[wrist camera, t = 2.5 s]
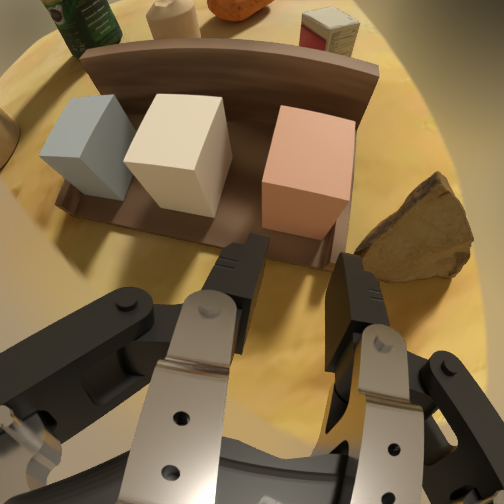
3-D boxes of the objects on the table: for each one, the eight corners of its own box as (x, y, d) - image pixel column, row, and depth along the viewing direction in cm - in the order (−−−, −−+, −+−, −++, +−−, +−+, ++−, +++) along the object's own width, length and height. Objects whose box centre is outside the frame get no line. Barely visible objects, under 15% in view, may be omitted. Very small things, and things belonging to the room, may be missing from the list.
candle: (213, 54, 30) (202, -8, 21) (181, 77, 30) (162, 13, 20) (185, 44, 31) (171, -13, 22) (155, 65, 31) (133, 7, 21)
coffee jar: (132, 35, 33) (98, -52, 15) (95, 65, 32) (48, -24, 14) (101, 31, 35) (67, -42, 17) (68, 58, 33) (25, -14, 15)
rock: (481, 234, 21) (415, 162, 22) (522, 269, 14) (445, 169, 14) (410, 310, 26) (342, 249, 27) (424, 364, 19) (337, 291, 19)
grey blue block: (123, 201, 25) (79, 157, 17) (84, 194, 25) (38, 155, 17) (145, 146, 26) (114, 94, 18) (106, 144, 27) (71, 97, 19)
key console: (333, 272, 23) (378, 237, 14) (70, 215, 26) (9, 172, 16) (349, 136, 27) (378, 65, 17) (120, 107, 29) (87, 49, 19)
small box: (324, 51, 30) (333, 5, 23) (348, 69, 29) (361, 21, 22) (295, 62, 30) (300, 11, 22) (319, 81, 29) (329, 28, 21)
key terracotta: (322, 240, 23) (349, 200, 15) (262, 227, 24) (261, 181, 16) (331, 177, 25) (355, 121, 17) (276, 165, 25) (280, 105, 17)
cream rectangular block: (214, 218, 24) (193, 170, 16) (160, 207, 24) (123, 161, 17) (232, 157, 25) (222, 97, 18) (181, 150, 26) (157, 93, 18)
